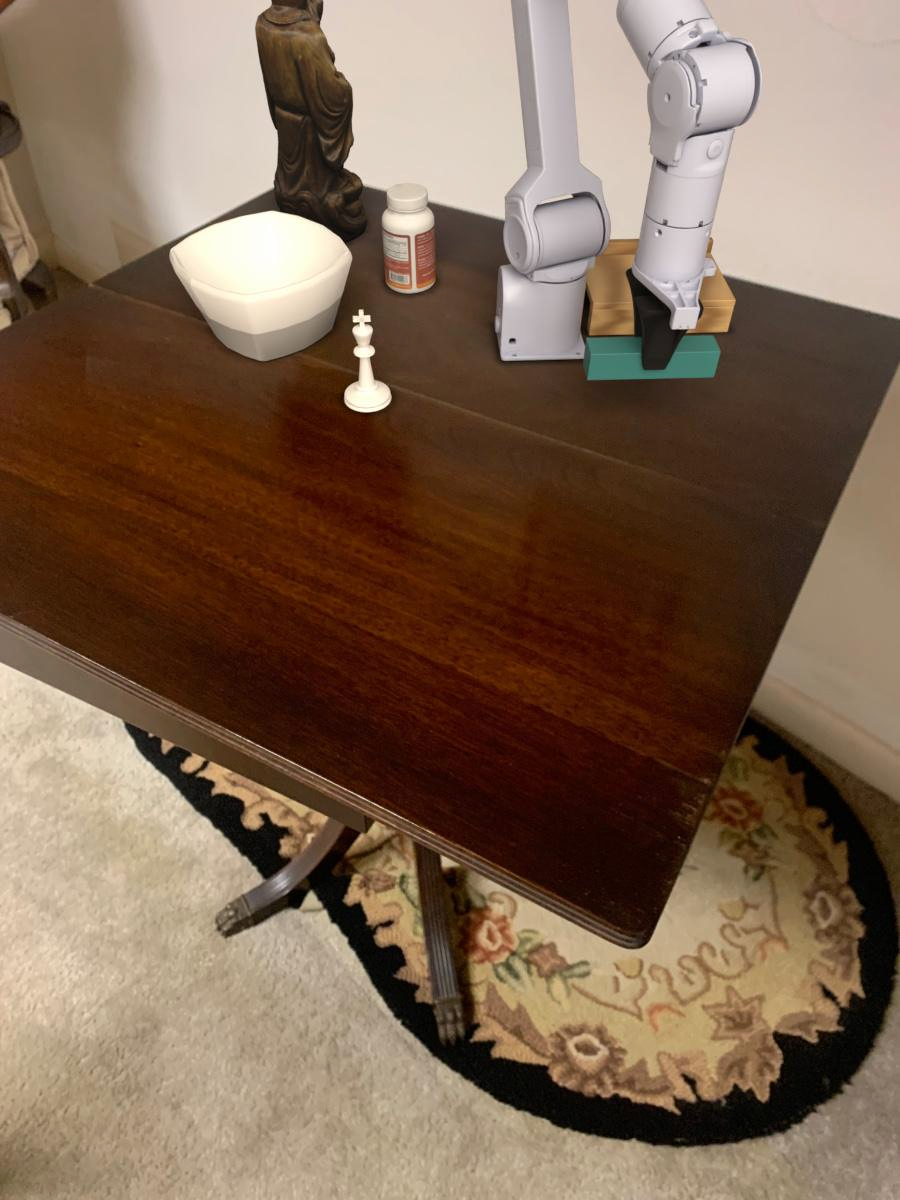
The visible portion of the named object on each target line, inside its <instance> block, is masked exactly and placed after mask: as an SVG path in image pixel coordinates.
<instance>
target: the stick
mask: <svg viewBox="0 0 900 1200" xmlns="http://www.w3.org/2000/svg"><path fill="white" fill-rule="evenodd" d="M584 345H585V351H584V359H582V366H583V369H584V373H585V377H586V380H587V381H612V380H613V381H616V380H618V381H619V380H621V381H622V380H657V379H658V380H662V379H704V378H706V379H709V378H715V375H716V372H717V368H718V363H719V360H720V356H721V349H720V346H719V345H718V342H717V340H716V338H715V336H714V335H713V334H711V335H710V334H708V335H707V334H706V335H684V336H683V338H682V339H681V341H680V343H679V344H678V346H677V348H676V350H675V352H674V354H673V356H672V358H671V360H670V362H669V363H668V365H667V367H666V369H665V370H644V369H643V366H642V358H641V348H642V337H634V336H613V337H612V336H611V337H609V336H608V337H586V338H585V343H584Z"/></svg>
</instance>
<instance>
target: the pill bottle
mask: <svg viewBox="0 0 900 1200" xmlns="http://www.w3.org/2000/svg"><path fill="white" fill-rule="evenodd" d="M428 193H429V192H428V190H427V187H425V186H424V185H421V184H419V183H413V182H410V183H409V182H403V183H397V184H395V185H392V186H390V187H389V188H387V190H386V206H387V208H386V209H385V210H384V211H383V213H382V216H381V232H382V233H381V235H382V249H383V250H382V251H383V265H384V279H385V283H386V285H387V286H388V288H389V289H391V290H392V291H394V292H397V293H401V294H408V295H409V294H410V295H412V294H418V293H422V292H425V291H427V290H429V289H430V288H432V287H433V285H434V284H435V282H436V277H437V276H436V275H437V273H436V272H437V271H436V270H437V269H436V226H435V225H436V223H435V215H434V213H433V211H432V210H431V209H430V208H429V207H428V203H429V194H428Z"/></svg>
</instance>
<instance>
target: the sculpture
mask: <svg viewBox="0 0 900 1200" xmlns="http://www.w3.org/2000/svg"><path fill="white" fill-rule="evenodd" d="M270 1H271V5H270V6H269V7H268V8H267V9H265V10H263V11H262V12H261V13H260V14H259V15H257V18H256V21H255V26H254V32H255V40H256V47H257V55H258V61H259V65H260V70H261V76H262V81H263V87H264V91H265V96H266V97H265V98H266V101H267V106H268V111H269V112H268V113H269V115H270V119H271V122H272V124H273V127H274V129H275V130H276V132H277V133H276V134H277V157H276V158H277V159H276V160H277V161H276V168H275V172H274V179H273V193H274V194H273V195H274V201H275V204H276V207H277V208H278V209H279V212H282V213H287V214H291V215H296V216H300V217H302V218H305V219H308V220H310V221H313V222H316V223H318V224H321V225H323V226H324V227H326V228H327V229H329V230H330V231H332V232H333V233H334V234H336V235H337V236H339V237H340V238H341V240H342V241H343V242H344V243H345V242H347V241H350V240H351V239H354V238H356V237H358V236H359V235H360V234H362V232H363V231H364V230H365V229H366V228H367V224H368V216H367V215H366V214H365V213H366V212H365V207H364V204H363V201H362V200H361V198H360V197H361V195H362V193H363V190H364V184H363V180H362V179H361V177H360V176H359V175H358V174H357V173H355V172H353V171H350V170H349V169H347V168H346V167H345V163H346V162H347V160H348V158H349V155H350V152H351V149H352V147H353V146H354V142H355V137H354V132H353V113H354V95H353V94H354V93H353V87H352V84H351V83H350V82H349V81H348V79H347V78H346V76H345V74H344V73H343V72H342V71H339V70H337V67H336V66H335V62H336V54H335V52H334V51H333V49H332V47H331V46H330V44H329V42H328V39H327V37H326V35H325V32H324V30H323V29H322V27H321V21H322V18H323V14H324V0H270Z"/></svg>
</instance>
